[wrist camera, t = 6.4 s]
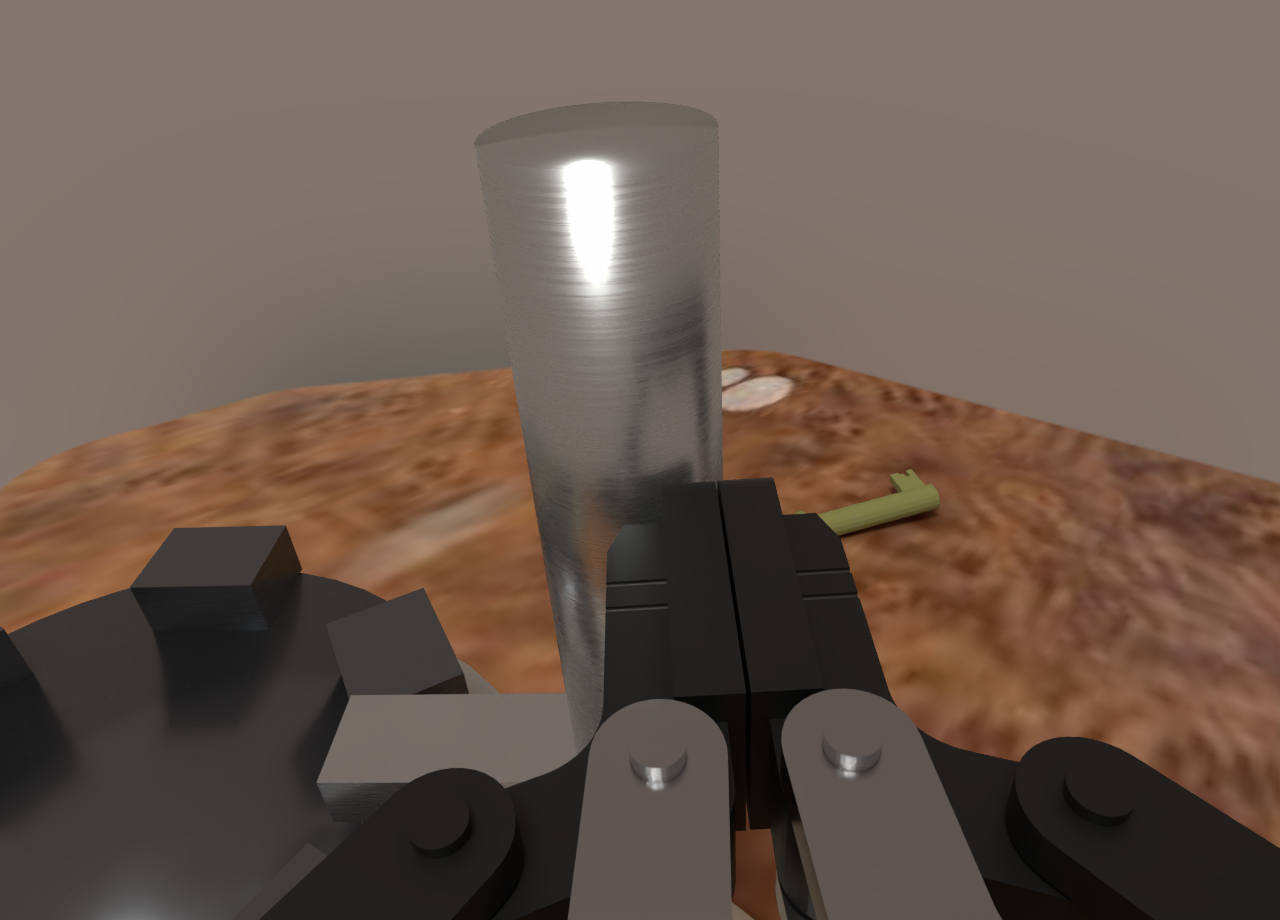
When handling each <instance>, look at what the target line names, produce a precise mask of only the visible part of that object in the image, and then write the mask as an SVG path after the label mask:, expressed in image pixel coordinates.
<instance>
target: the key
mask: <svg viewBox="0 0 1280 920" xmlns="http://www.w3.org/2000/svg"><path fill="white" fill-rule="evenodd" d="M890 482H891V484H892V485H893V486H894V487H895V489H896V490H897V491H898V493H895V494H891V495H888V496H884V497H880V498H877V499H873V500H869V501H866V502H862V503H858V504H855V505H851V506H847V507H844V508H840V509H836V510H833V511H829V512H825V513H822V514H818V516H819V517H820V518H821V519H822V520H823V521H824V522H825V523H826V524H827V525H828V526H829V527H830V528H831V529H832V530H833V531H834V532H835V533H836V534H837V535H838V536H840V535H844V534H847V533H851V532H855V531H858V530H862V529H865V528H869V527H873V526H876V525H880V524H884V523H887V522H891V521H894V520H898V519H902V518H905V517H909V516H913V515H916V514H920V513H923V512H927V511H931V510H934V509H938V508H939V506H940V499H939V495H938V492H937V490H936V488H935V487H934V486H933V485H932V484H928V485H924V484H923V482H922V481H921V480H920V479H919V478H918V477H917V475H916V474H915V473H914V472H913V471H912V469H910V470H907V471H906V476H905V475H904V474H899V473H896V474H892V475H890ZM795 514H806V513H805V512H803V511H798V512H796V513H795Z"/></svg>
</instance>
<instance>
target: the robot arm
mask: <svg viewBox="0 0 1280 920" xmlns="http://www.w3.org/2000/svg"><path fill="white" fill-rule="evenodd" d="M661 493H662V510H663V523H650V524H633V525H623V527H622V528H621V530H620V532H619V533H618V535H617V537H616V538H615V540H614V541H613V543H612V545H611V546H610V548H609V550H608V551H607V570H606V587H607V588H606V613H605V650H604V690H603V711H602V717H601V720H600V723H599V726H598V728H597V730H596V732H595V734H594V736H593V737H592V739H591V740H590V742H589V743H588V744H587V746H586V747H585V748H584V749H583V750H582V751H581V752H580V753H579V754H578V755H577V756H575V757H574V758H573V759H571V760H570V761H569V762H567V763H566V764H564V765H562V766H561V767H559V768H557V769H555V770H553V771H551V772H548V773H546V774H543V775H541V776H538V777H535V778H532V779H530V780H527V781H524V782H521V783H518V784H516V785H513V786H510V787H507V788H504V787H503V786H502V785H501V784H500V783H499V782H498V781H497V780H496V779H494V778H493V777H491V776H489V775H487V774H486V773H483V772H480V771H477V770H474V769H467V768H448V769H442V770H437V771H434V772H430V773H427V774H425V775H423V776H420V777H418V778H416V779H414V780H413V781H411V782H409V783H408V784H406V785H405V786H403V787H402V788H401V789H399V790H398V791H397V792H396V793H395V794H393V795H392V796H391V797H390V798H389V799H388V800H387V801H386V802H385V803H384V804H383V805H382V806H381V807H379V808H378V809H377V810H376V811H375V812H374V813H373V814H372V815H371V816H370V817H369V818H368V819H367V820H365V821H364V822H363V823H362V824H361V825H360V826H359V827H358V828H357V829H356V830H355V831H354V832H353V833H352V834H350V835H349V836H348V837H347V838H346V839H345V840H344V841H343V842H342V843H341V844H340V845H339V846H338V847H336V848H335V849H334V850H333V851H332V852H331V853H330V854H329V855H328V856H327V857H326V858H325V859H324V860H322V861H321V862H320V863H319V864H318V865H317V866H316V867H315V868H314V869H313V870H312V871H311V872H310V873H309V874H307V875H306V876H305V877H304V878H303V879H302V880H301V881H300V882H299V883H298V884H297V885H296V886H295V887H293V888H292V889H291V890H290V891H289V892H288V893H287V894H286V895H285V896H284V897H283V898H282V899H281V900H280V901H278V902H277V903H276V904H275V905H274V906H273V907H272V908H271V909H270V910H269V911H268V912H267V913H266V914H264V915H263V916H262V917H261V918H260V919H259V920H732V897H733V895H734V890H735V884H736V860H735V831H742V830H746V803H747V810H748V818H749V826H750V830H752V829H771V834H772V840H773V847H774V854H775V860H776V888H775V893H776V900H777V905H778V910H779V914H780V919H781V920H1280V848H1278V847H1277V846H1275V845H1274V844H1272V843H1270V842H1269V841H1267V840H1266V839H1264V838H1262V837H1261V836H1259V835H1258V834H1256V833H1255V832H1253V831H1251V830H1250V829H1248V828H1247V827H1245V826H1243V825H1242V824H1240V823H1239V822H1237V821H1236V820H1234V819H1232V818H1231V817H1229V816H1228V815H1226V814H1224V813H1223V812H1221V811H1220V810H1218V809H1216V808H1215V807H1213V806H1212V805H1210V804H1209V803H1207V802H1205V801H1204V800H1202V799H1201V798H1199V797H1197V796H1196V795H1194V794H1193V793H1191V792H1190V791H1188V790H1186V789H1185V788H1183V787H1182V786H1180V785H1178V784H1177V783H1175V782H1174V781H1172V780H1171V779H1169V778H1167V777H1166V776H1164V775H1163V774H1161V773H1159V772H1158V771H1156V770H1155V769H1153V768H1152V767H1150V766H1148V765H1147V764H1145V763H1144V762H1142V761H1140V760H1139V759H1137V758H1136V757H1134V756H1132V755H1130V754H1129V753H1127V752H1125V751H1123V750H1121V749H1119V748H1117V747H1114V746H1112V745H1110V744H1107V743H1104V742H1100V741H1097V740H1093V739H1088V738H1082V737H1060V738H1053V739H1050V740H1046V741H1043V742H1041V743H1039V744H1037V745H1035V746H1034V747H1032V748H1031V749H1030V750H1029V751H1027V752H1026V754H1025V755H1024V756H1023V757H1022V759H1021V760H1020V762H1016V761H1011V760H1007V759H1002V758H998V757H993V756H989V755H984V754H980V753H975V752H971V751H966V750H963V749H959V748H956V747H953V746H950V745H948V744H945V743H943V742H940V741H938V740H936V739H935V738H933V737H931V736H929V735H927V734H926V733H924V732H923V731H921V730H920V729H919V728H917V727H916V726H915V724H914V723H913V722H912V721H911V719H910V718H909V717H908V716H907V715H906V714H905V713H904V712H903V711H902V710H901V709H900V708H898V707H897V706H896V704H895V702H894V701H893V699H892V697H891V694H890V692H889V690H888V687H887V683H886V680H885V677H884V674H883V671H882V668H881V665H880V661H879V658H878V655H877V652H876V649H875V646H874V643H873V639H872V636H871V633H870V630H869V627H868V624H867V621H866V617H865V614H864V611H863V608H862V605H861V602H860V599H859V598H858V596H857V589H856V586H855V583H854V580H853V576H852V573H850V567H849V564H848V561H847V558H846V554H845V551H844V548H843V545H842V542H841V539H840V537H839V536H838V535H837V534H836V533H835V532H834V531H833V530H832V529H831V528H830V527H829V526H828V525H827V524H826V523H825V522H824V521H823V520H822V519H821V518H820V517H819V516H818V515H817V514H816V513H808V514H792V515H782V511H781V507H780V502H779V498H778V494H777V490H776V486H775V482H774V479H773V478H772V477H770V478H754V479H738V480H722V481H718V482H717V489H716V483H715V481H710V482H694V483H678V484H662V485H661Z"/></svg>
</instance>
